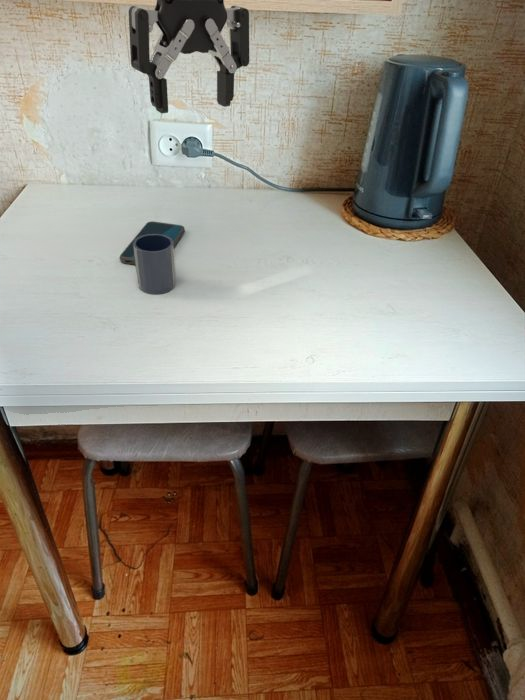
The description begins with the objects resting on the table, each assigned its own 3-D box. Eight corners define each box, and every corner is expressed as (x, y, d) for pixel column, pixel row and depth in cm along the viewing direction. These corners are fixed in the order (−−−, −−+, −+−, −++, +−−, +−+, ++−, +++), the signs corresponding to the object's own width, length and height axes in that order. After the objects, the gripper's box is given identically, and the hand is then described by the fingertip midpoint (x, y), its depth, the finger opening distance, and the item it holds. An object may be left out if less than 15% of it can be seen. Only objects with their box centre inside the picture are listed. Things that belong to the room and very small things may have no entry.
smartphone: (117, 262, 87) (117, 257, 87) (148, 224, 99) (148, 220, 98) (160, 268, 86) (160, 263, 86) (186, 229, 98) (186, 225, 97)
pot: (147, 298, 80) (143, 255, 75) (132, 280, 83) (127, 238, 79) (181, 288, 82) (179, 246, 78) (165, 271, 86) (162, 230, 81)
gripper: (139, -63, 47) (153, 123, 57) (266, -55, 53) (258, 110, 64) (109, -67, 51) (127, 106, 62) (230, -59, 58) (228, 96, 68)
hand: (193, 108), depth 63 cm, fingers open, 8 cm apart
